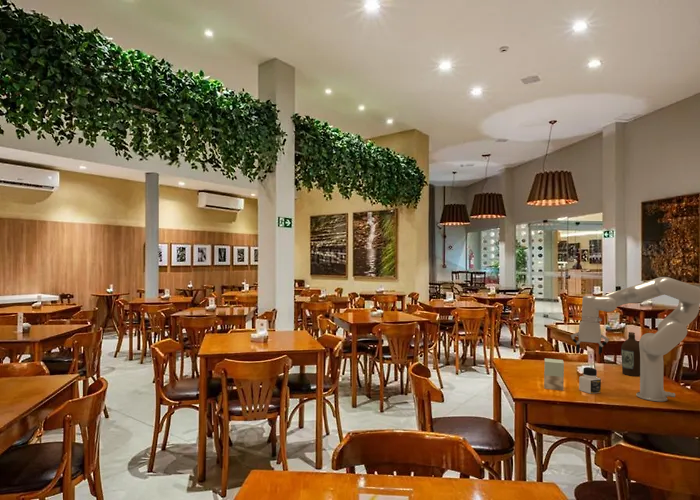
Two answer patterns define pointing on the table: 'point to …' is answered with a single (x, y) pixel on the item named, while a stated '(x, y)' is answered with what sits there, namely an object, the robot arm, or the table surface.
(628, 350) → the olive oil
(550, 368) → the top block
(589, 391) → the medicine bottle
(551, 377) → the bottom block
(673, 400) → the table surface
